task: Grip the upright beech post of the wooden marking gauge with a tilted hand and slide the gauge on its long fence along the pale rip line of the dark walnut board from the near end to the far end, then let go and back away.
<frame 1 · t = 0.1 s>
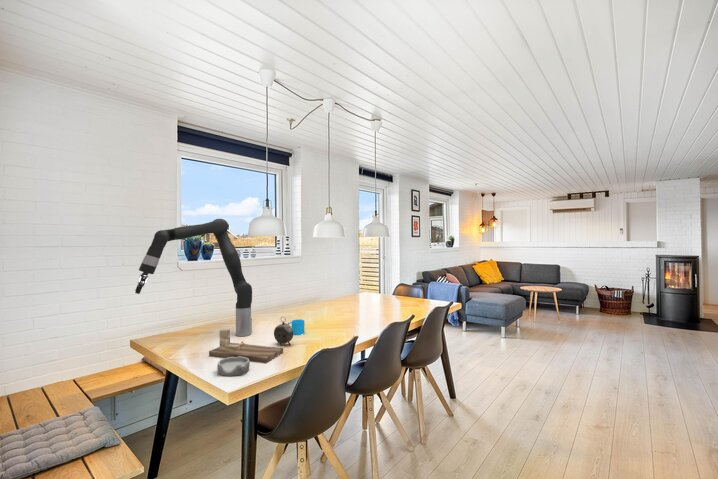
hand: (137, 292, 189), 31 cm above the table, tool tilted 20°, fingers open, 8 cm apart
mug: (295, 333, 222), on the table
marking gauge: (224, 348, 184), point 3 cm above the table, touching walnut board
dish: (233, 371, 159), on the table
alarm clock: (283, 345, 198), on the table
walnut board: (246, 354, 182), on the table
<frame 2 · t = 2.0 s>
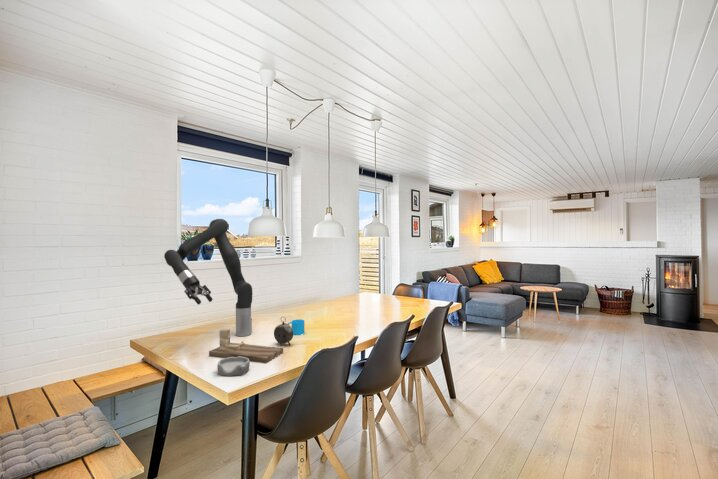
hand: (205, 302, 187), 26 cm above the table, tool tilted 45°, fingers open, 8 cm apart
nothing on the table moved.
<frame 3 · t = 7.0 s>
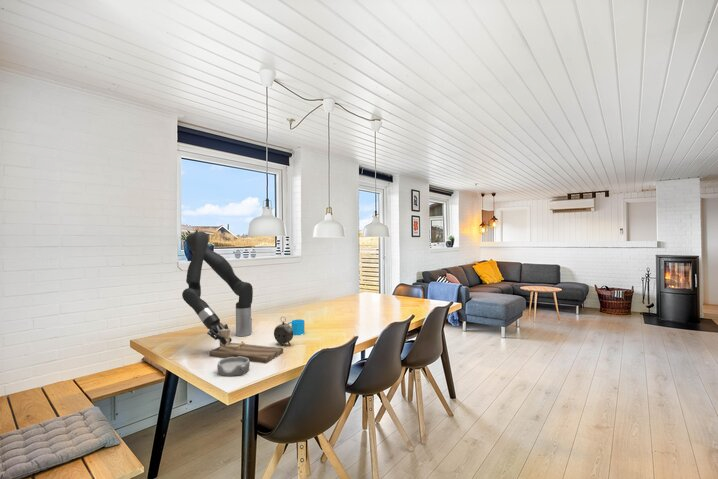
hand: (228, 342, 183), 6 cm above the table, tool tilted 45°, fingers closed on marking gauge, 3 cm apart
marking gauge: (224, 348, 184), point 3 cm above the table, touching gripper, walnut board
everything else where it was.
when the fingers open (6 cm above the table, at t = 12.6 s): marking gauge stays where it is, resting on walnut board.
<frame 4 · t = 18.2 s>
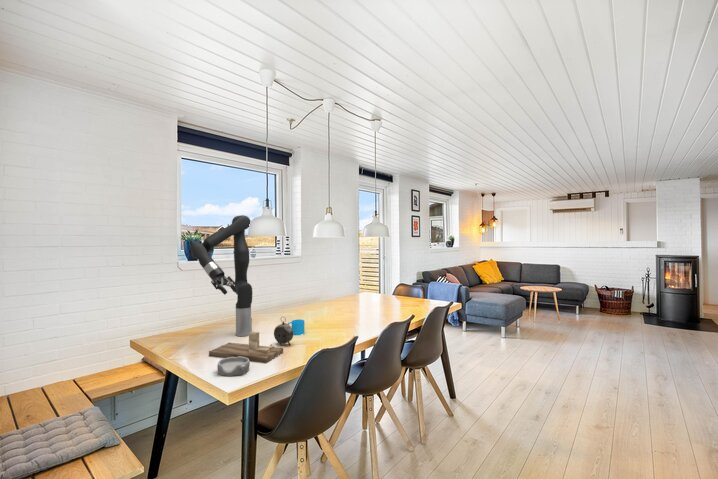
hand: (231, 292, 194), 31 cm above the table, tool tilted 45°, fingers open, 8 cm apart
marking gauge: (254, 352, 178), point 3 cm above the table, touching walnut board
everything else where it was.
at the end: marking gauge inside the target area (0.1 cm from its centre), point 2.5 cm above the table; marking gauge tilted 0°; the gripper is holding nothing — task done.
